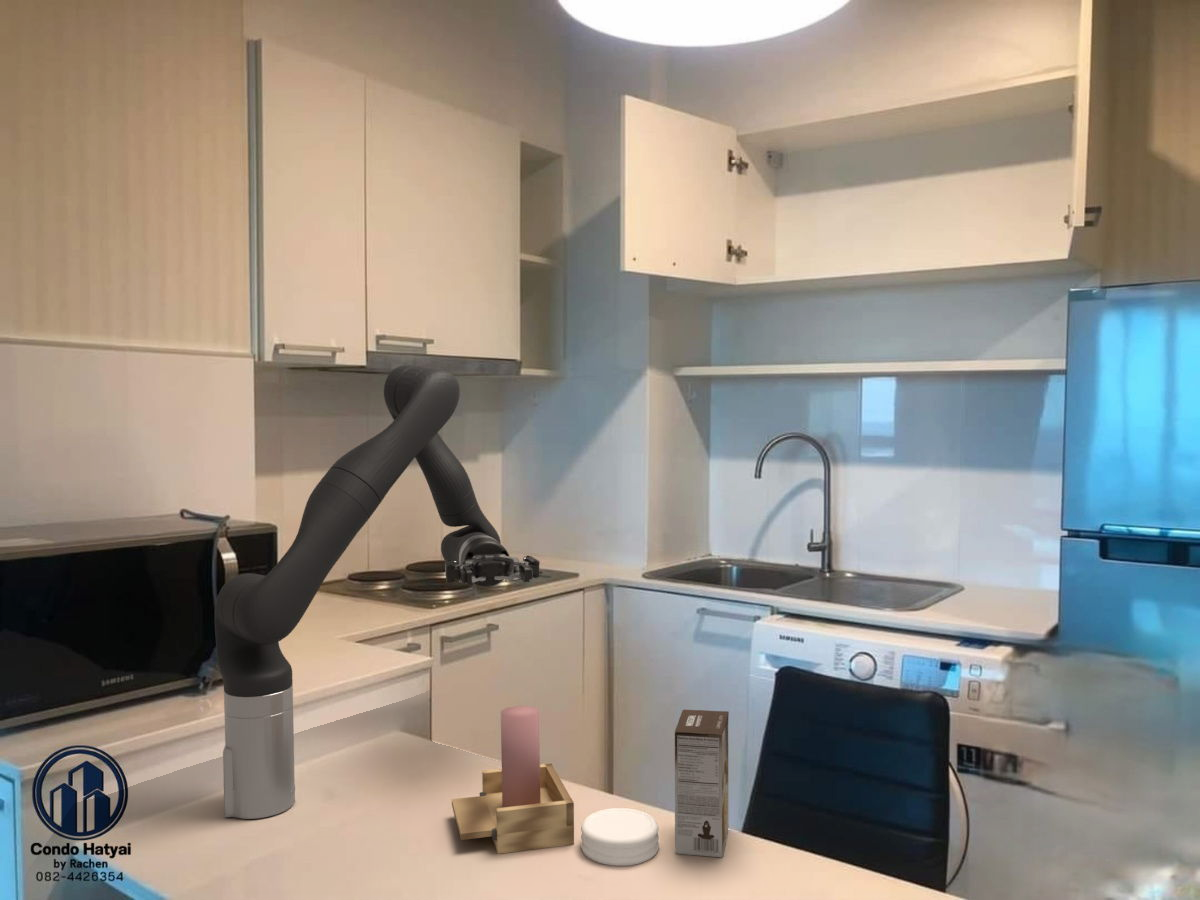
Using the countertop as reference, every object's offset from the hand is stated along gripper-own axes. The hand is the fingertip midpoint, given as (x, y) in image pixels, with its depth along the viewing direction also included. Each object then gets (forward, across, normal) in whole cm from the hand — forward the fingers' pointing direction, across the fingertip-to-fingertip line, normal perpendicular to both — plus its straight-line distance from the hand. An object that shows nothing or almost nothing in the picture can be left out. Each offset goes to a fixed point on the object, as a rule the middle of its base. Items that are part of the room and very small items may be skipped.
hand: (498, 577), depth 138 cm
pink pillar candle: (+12, +1, +30) cm, 32 cm away
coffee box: (+23, +23, +32) cm, 46 cm away
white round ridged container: (+22, +12, +32) cm, 41 cm away
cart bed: (+13, -1, +32) cm, 34 cm away
